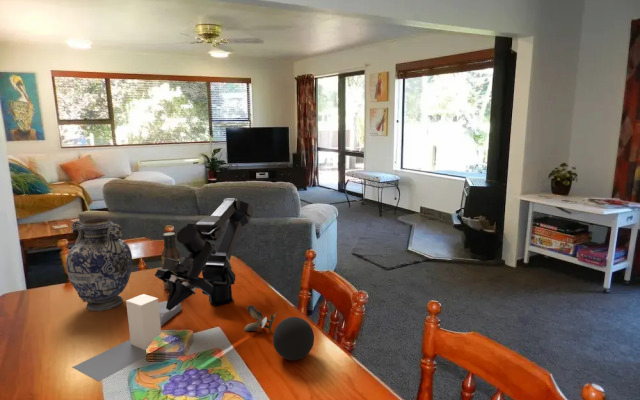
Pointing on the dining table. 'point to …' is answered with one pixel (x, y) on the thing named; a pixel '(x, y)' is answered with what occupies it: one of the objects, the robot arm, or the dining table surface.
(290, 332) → the speaker
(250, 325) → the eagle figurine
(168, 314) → the stone block
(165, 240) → the sauce bottle
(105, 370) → the mat
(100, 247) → the decorative vase
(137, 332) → the tall block
